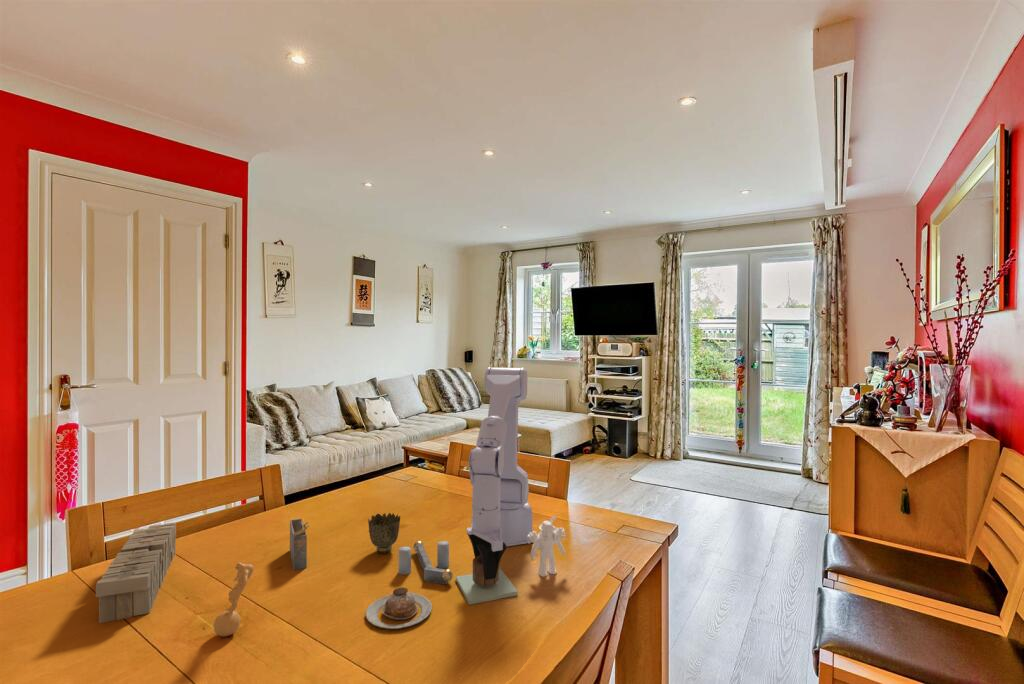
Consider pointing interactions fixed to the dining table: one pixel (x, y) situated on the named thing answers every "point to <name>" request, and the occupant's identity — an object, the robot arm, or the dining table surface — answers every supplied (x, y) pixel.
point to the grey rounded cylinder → (404, 560)
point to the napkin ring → (482, 573)
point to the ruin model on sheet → (298, 544)
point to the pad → (485, 589)
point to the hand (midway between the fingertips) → (485, 571)
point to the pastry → (399, 608)
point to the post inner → (443, 554)
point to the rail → (431, 567)
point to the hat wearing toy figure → (546, 545)
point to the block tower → (136, 573)
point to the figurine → (233, 603)
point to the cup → (384, 531)
